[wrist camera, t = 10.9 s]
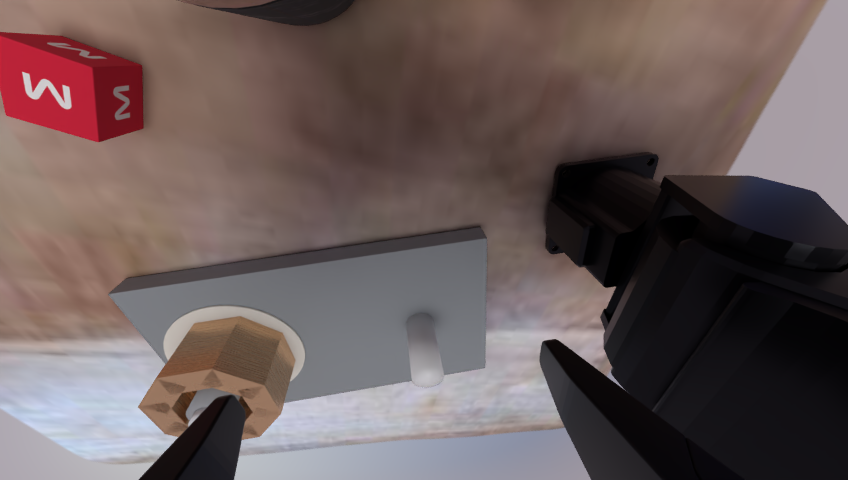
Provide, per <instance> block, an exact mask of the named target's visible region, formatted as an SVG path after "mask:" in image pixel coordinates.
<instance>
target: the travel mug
mask: <svg viewBox="0 0 848 480" xmlns="http://www.w3.org/2000/svg"><path fill="white" fill-rule="evenodd" d="M178 1H181V2H185V3H189V4H194V5H197V6H202V7H206V8H211V9H216V10H221V11H226V12H230V13H235V14H240V15H245V16H249V17H254V18H259V19H264V20H269V21H273V22H278V23H284V24H290V25H314V24H319V23H323V22H326V21H329V20H331V19H333V18H335V17H337V16H338V15H339V14H341V13H342V12H343V11H345V10H346V9H347V8H348V7H349V6H350V5H351V4H352V3H353V2H354V0H178Z"/></svg>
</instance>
